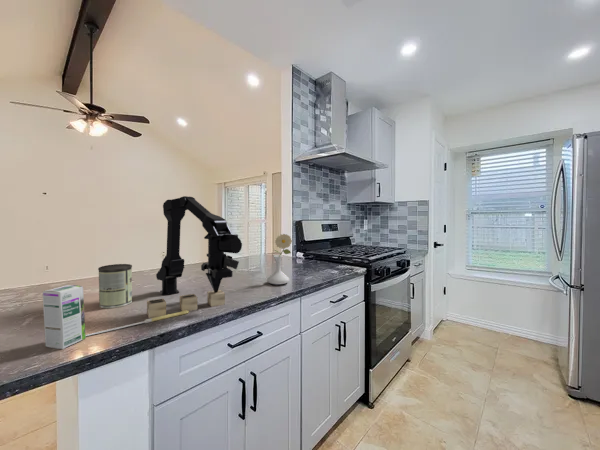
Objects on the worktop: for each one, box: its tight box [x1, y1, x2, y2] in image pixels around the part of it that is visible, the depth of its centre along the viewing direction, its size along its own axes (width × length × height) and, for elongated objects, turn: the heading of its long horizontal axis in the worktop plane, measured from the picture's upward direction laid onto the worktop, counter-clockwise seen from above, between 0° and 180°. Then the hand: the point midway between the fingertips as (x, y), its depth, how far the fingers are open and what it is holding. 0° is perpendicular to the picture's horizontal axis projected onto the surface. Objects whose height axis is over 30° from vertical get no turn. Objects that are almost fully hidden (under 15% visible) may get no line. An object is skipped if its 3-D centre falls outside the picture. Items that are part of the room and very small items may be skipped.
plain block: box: [206, 289, 226, 308], centre depth 101 cm, size 5×5×4 cm
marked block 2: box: [179, 293, 198, 312], centre depth 95 cm, size 5×5×5 cm
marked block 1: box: [146, 298, 167, 319], centre depth 89 cm, size 5×5×5 cm
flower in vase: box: [266, 233, 293, 285], centre depth 132 cm, size 13×11×25 cm
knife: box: [85, 310, 190, 337], centre depth 81 cm, size 1×33×4 cm
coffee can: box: [97, 263, 133, 309], centre depth 99 cm, size 10×10×14 cm
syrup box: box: [42, 284, 87, 350], centre depth 68 cm, size 6×6×14 cm
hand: (215, 292), depth 101 cm, fingers closed
